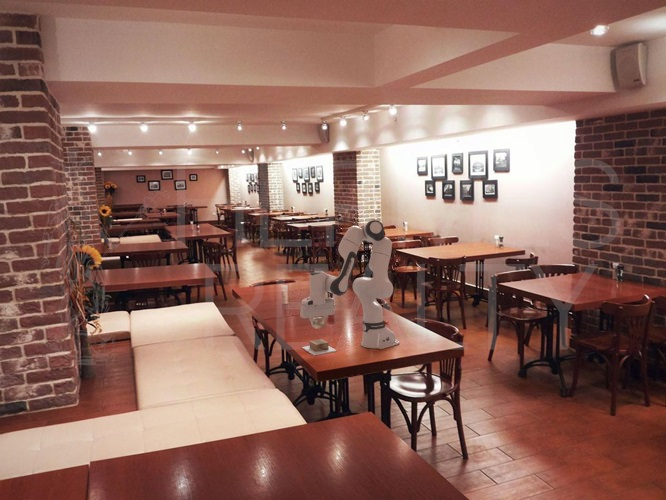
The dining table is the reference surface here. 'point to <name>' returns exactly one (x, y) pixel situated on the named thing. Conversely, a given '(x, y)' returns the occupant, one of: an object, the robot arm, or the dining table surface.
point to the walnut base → (319, 345)
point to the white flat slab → (318, 351)
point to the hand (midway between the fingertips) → (318, 324)
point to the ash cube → (318, 323)
